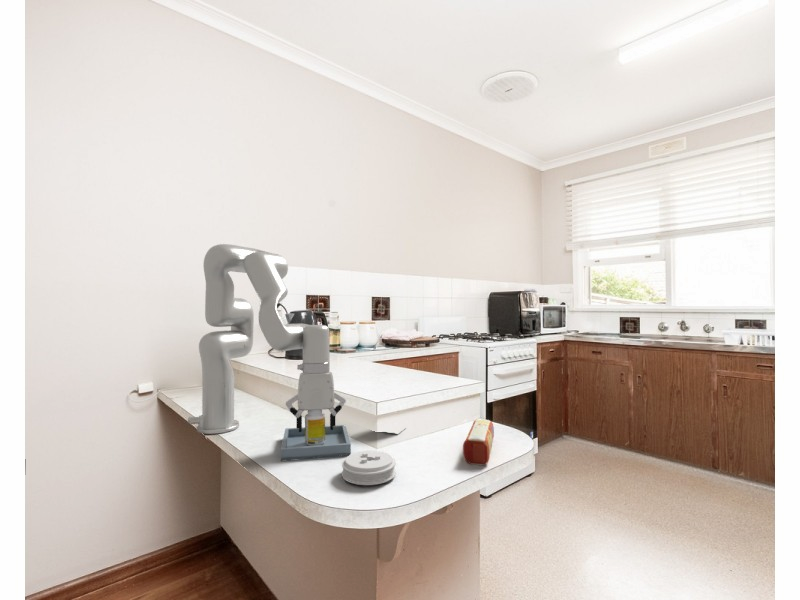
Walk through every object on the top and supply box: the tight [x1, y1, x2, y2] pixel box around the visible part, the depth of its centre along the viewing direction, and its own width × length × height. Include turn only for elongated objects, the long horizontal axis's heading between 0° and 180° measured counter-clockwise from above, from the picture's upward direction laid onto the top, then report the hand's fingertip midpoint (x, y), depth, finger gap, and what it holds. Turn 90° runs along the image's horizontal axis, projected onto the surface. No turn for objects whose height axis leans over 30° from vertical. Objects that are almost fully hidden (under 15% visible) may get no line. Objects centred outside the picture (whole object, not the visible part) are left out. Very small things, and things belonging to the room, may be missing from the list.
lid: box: [341, 450, 397, 486], centre depth 96 cm, size 13×13×5 cm
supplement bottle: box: [304, 410, 326, 446], centre depth 116 cm, size 6×6×10 cm
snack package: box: [462, 419, 495, 466], centre depth 113 cm, size 21×7×7 cm, turn 163°
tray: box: [280, 424, 352, 461], centre depth 116 cm, size 18×18×3 cm
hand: (316, 429), depth 116 cm, fingers open, 8 cm apart
